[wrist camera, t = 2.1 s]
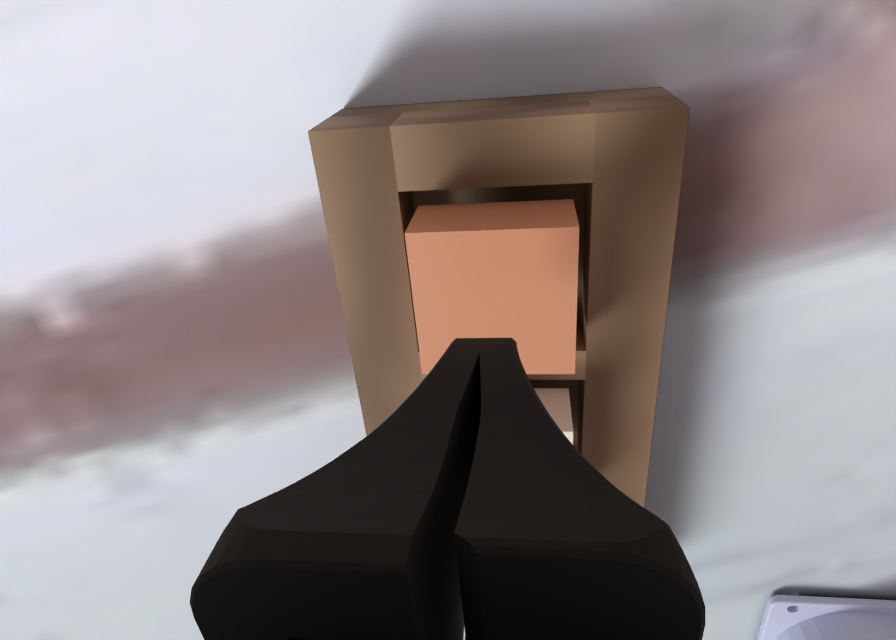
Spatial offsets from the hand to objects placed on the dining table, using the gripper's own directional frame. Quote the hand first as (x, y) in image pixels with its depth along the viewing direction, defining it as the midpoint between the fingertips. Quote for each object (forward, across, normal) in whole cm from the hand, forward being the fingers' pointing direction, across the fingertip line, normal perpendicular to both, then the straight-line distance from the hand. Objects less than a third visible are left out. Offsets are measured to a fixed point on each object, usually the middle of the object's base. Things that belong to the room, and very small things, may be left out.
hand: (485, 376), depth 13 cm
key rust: (+6, 0, 0) cm, 6 cm away
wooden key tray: (+9, 0, +6) cm, 11 cm away
